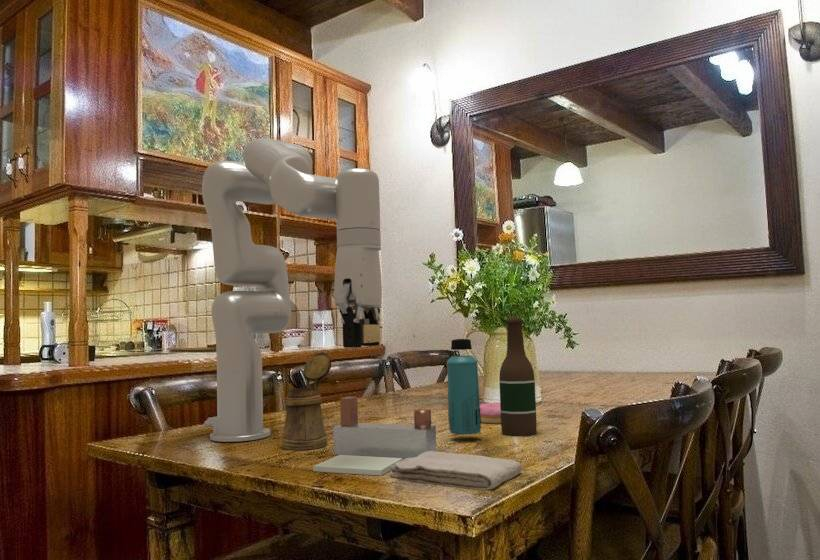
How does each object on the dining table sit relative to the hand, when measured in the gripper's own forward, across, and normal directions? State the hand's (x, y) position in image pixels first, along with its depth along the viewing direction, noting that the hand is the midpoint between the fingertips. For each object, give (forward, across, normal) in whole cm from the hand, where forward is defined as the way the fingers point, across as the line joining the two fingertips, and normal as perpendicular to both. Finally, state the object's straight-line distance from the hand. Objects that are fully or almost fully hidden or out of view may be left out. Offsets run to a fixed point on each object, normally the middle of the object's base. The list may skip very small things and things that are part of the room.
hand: (361, 345), depth 107 cm
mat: (+20, +2, 0) cm, 20 cm away
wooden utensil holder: (+20, -15, -19) cm, 31 cm away
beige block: (-1, 0, 0) cm, 1 cm away
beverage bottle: (+20, -25, +10) cm, 34 cm away
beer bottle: (+20, -34, +20) cm, 44 cm away
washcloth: (+21, +4, +17) cm, 27 cm away
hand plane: (+20, -9, 0) cm, 22 cm away
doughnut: (+20, -50, +12) cm, 55 cm away
